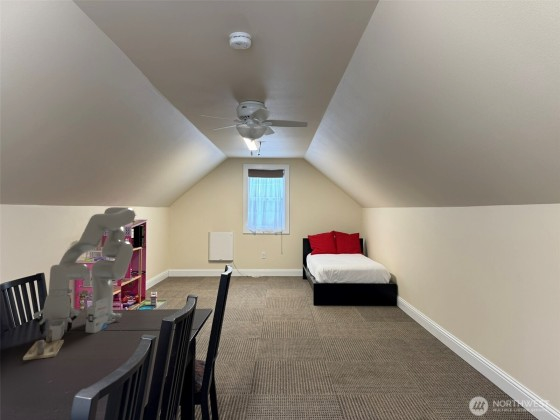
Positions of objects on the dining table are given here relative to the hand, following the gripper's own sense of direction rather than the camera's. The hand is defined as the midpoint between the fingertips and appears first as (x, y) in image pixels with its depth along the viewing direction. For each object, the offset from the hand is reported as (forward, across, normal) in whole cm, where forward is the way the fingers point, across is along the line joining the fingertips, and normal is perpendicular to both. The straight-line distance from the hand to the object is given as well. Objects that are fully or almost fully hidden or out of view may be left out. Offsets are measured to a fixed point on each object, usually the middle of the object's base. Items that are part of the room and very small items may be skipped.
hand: (55, 331), depth 144 cm
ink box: (+2, -15, -6) cm, 17 cm away
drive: (+3, 0, 0) cm, 3 cm away
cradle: (+3, +1, +16) cm, 16 cm away
